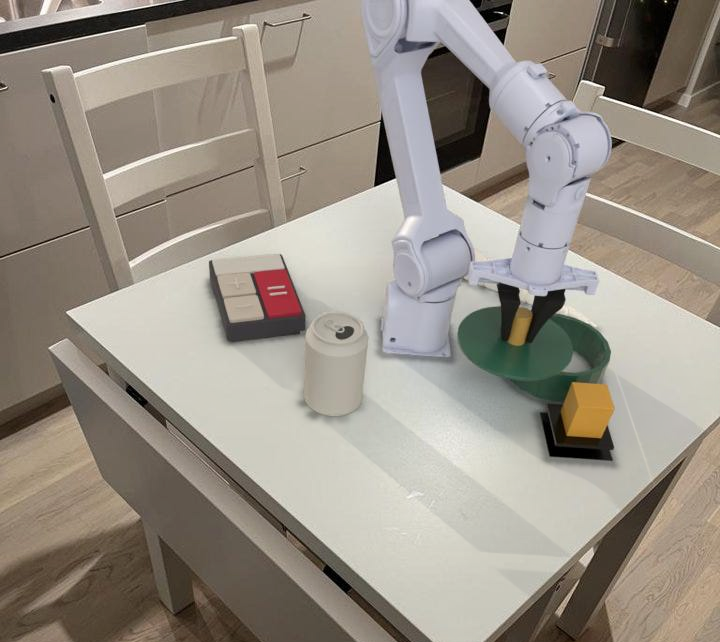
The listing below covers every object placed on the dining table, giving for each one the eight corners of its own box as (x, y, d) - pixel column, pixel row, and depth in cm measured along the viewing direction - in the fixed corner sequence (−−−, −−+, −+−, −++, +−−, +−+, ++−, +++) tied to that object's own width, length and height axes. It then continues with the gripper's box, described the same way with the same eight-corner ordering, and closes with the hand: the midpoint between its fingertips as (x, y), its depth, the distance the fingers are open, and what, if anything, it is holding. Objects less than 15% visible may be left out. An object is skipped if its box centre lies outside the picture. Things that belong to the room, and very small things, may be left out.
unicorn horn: (585, 341, 107) (596, 314, 104) (448, 278, 116) (453, 251, 112) (598, 326, 110) (609, 299, 107) (463, 266, 118) (468, 239, 115)
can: (341, 429, 91) (347, 353, 82) (292, 404, 93) (293, 328, 84) (372, 397, 96) (381, 321, 87) (324, 374, 98) (329, 298, 89)
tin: (508, 401, 97) (517, 371, 93) (497, 338, 106) (505, 309, 102) (607, 408, 98) (620, 379, 94) (588, 345, 107) (599, 316, 103)
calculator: (226, 321, 98) (207, 255, 106) (228, 346, 101) (209, 280, 110) (306, 312, 101) (281, 248, 109) (305, 336, 104) (281, 273, 113)
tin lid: (460, 380, 86) (468, 345, 82) (452, 309, 95) (459, 274, 91) (580, 389, 86) (593, 354, 82) (560, 317, 96) (571, 283, 92)
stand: (548, 459, 91) (553, 445, 89) (538, 415, 96) (543, 401, 94) (611, 463, 91) (618, 450, 89) (598, 419, 96) (604, 405, 94)
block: (566, 436, 90) (578, 406, 86) (560, 411, 93) (571, 381, 89) (601, 438, 90) (615, 408, 87) (594, 414, 93) (607, 384, 89)
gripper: (481, 249, 76) (459, 353, 87) (618, 260, 77) (580, 362, 87) (476, 215, 81) (455, 317, 91) (605, 226, 82) (570, 326, 92)
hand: (515, 337), depth 89 cm, fingers closed on tin lid, 2 cm apart
